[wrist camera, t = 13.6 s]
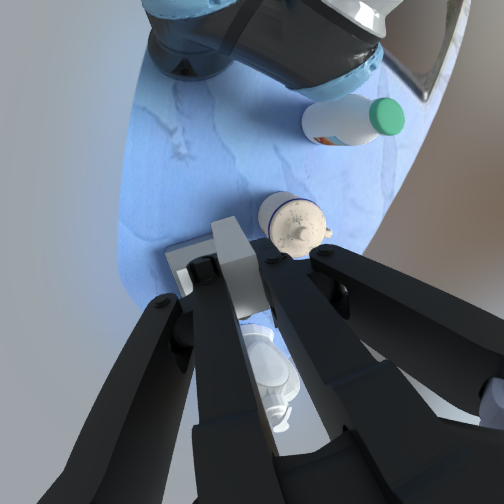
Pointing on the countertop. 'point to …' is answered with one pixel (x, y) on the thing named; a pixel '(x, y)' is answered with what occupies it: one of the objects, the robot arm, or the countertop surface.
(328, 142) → the milk bottle
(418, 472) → the robot arm
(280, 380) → the soap bottle
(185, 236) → the countertop surface
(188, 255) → the switch base
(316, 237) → the teacup with lid
